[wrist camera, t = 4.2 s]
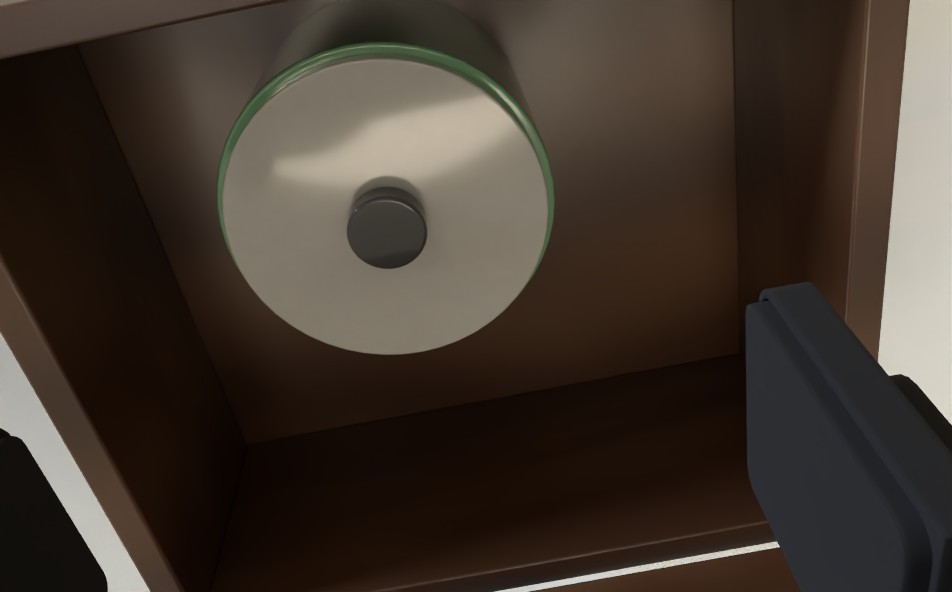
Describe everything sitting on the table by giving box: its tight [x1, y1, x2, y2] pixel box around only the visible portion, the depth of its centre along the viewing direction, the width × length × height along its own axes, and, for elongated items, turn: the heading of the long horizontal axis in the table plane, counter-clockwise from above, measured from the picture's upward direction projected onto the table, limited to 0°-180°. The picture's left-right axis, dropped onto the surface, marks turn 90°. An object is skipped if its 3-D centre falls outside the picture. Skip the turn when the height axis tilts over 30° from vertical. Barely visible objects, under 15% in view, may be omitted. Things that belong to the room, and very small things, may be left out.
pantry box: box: [0, 0, 910, 592], centre depth 20 cm, size 16×18×8 cm
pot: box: [216, 0, 555, 355], centre depth 19 cm, size 7×7×6 cm
